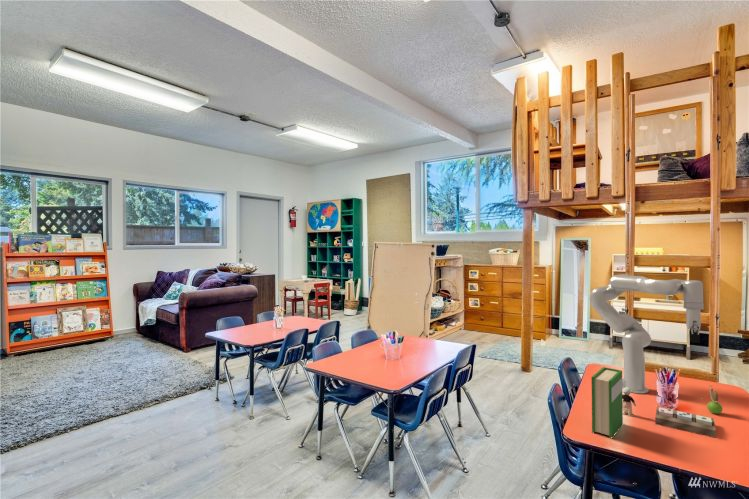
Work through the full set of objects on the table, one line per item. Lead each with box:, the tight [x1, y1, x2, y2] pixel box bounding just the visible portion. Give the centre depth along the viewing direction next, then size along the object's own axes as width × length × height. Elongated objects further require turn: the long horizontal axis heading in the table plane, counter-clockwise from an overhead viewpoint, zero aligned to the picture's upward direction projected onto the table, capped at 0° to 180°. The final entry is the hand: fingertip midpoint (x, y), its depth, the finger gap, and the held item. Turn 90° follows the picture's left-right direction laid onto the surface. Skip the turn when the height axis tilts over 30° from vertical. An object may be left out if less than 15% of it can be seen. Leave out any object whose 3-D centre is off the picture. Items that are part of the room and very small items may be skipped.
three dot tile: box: [676, 410, 693, 422], centre depth 167 cm, size 5×5×3 cm
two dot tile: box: [658, 406, 674, 418], centre depth 171 cm, size 5×5×3 cm
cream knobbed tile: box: [695, 414, 712, 426], centre depth 163 cm, size 5×5×3 cm
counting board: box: [654, 406, 717, 438], centre depth 167 cm, size 20×14×3 cm
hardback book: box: [591, 366, 624, 438], centre depth 164 cm, size 18×7×24 cm, turn 135°
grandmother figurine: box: [622, 387, 637, 417], centre depth 178 cm, size 8×4×13 cm, turn 47°
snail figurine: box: [706, 385, 723, 415], centre depth 178 cm, size 5×6×12 cm
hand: (694, 340), depth 185 cm, fingers open, 9 cm apart
